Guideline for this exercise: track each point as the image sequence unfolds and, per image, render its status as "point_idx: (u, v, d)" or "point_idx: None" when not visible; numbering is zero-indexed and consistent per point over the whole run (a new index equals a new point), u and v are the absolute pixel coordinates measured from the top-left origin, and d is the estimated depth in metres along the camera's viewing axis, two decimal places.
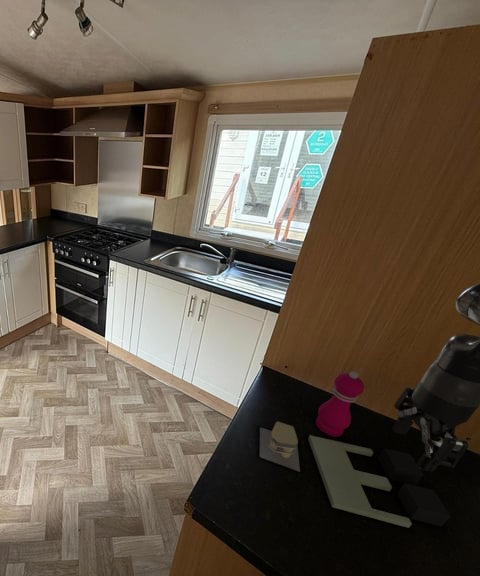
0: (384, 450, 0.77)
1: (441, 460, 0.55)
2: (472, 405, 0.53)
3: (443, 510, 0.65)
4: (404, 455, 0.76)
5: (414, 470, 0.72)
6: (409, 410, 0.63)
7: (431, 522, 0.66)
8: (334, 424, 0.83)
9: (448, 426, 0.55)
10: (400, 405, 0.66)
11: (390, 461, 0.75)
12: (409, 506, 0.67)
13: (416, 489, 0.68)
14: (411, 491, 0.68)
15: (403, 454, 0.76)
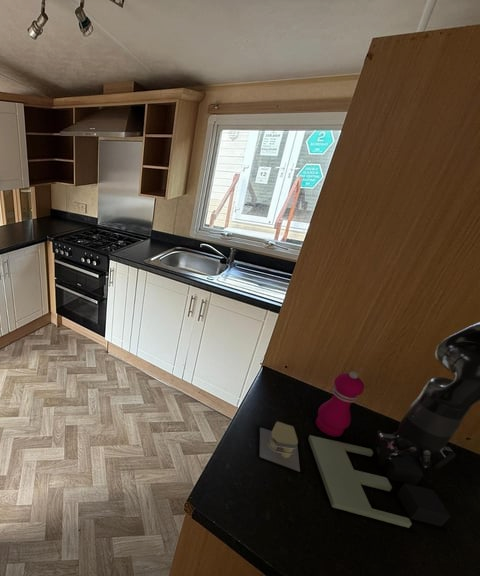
0: None
1: None
2: None
3: (443, 510, 0.65)
4: None
5: (414, 470, 0.72)
6: (404, 451, 0.71)
7: (431, 522, 0.66)
8: (334, 424, 0.83)
9: None
10: (385, 452, 0.74)
11: None
12: (409, 506, 0.67)
13: (416, 489, 0.68)
14: (411, 491, 0.68)
15: None
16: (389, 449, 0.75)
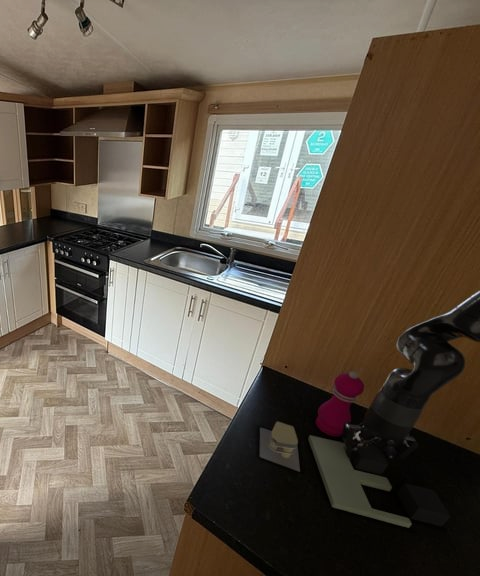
0: None
1: None
2: None
3: (443, 510, 0.65)
4: (371, 445, 0.77)
5: (379, 460, 0.73)
6: (369, 442, 0.72)
7: (431, 522, 0.66)
8: (334, 424, 0.83)
9: None
10: (351, 442, 0.75)
11: None
12: (409, 506, 0.67)
13: (416, 489, 0.68)
14: (411, 491, 0.68)
15: None
16: (355, 440, 0.76)
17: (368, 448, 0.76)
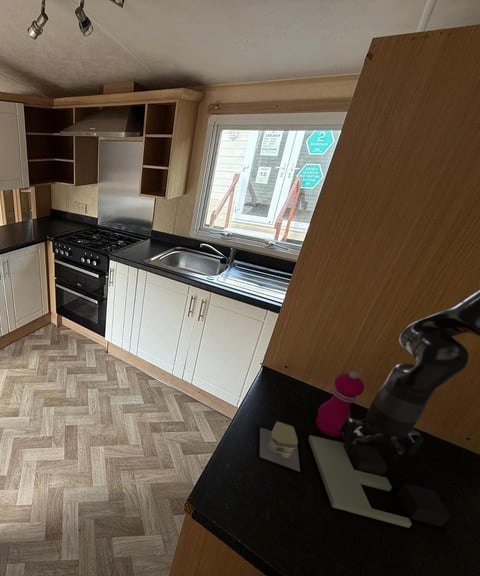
0: None
1: None
2: None
3: (443, 510, 0.65)
4: (371, 449, 0.77)
5: (379, 463, 0.73)
6: (370, 437, 0.72)
7: (431, 522, 0.66)
8: (334, 424, 0.83)
9: None
10: None
11: (356, 455, 0.76)
12: (409, 506, 0.67)
13: (416, 489, 0.68)
14: (411, 491, 0.68)
15: (369, 448, 0.77)
16: (354, 434, 0.75)
17: (368, 451, 0.76)
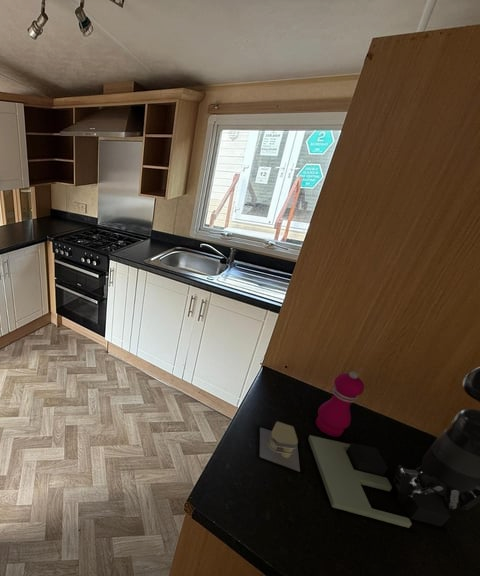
0: (351, 444, 0.78)
1: None
2: None
3: (443, 510, 0.65)
4: (371, 449, 0.77)
5: (379, 463, 0.73)
6: (428, 490, 0.64)
7: (431, 522, 0.66)
8: (334, 424, 0.83)
9: None
10: (406, 489, 0.66)
11: (356, 455, 0.76)
12: (409, 506, 0.67)
13: None
14: None
15: (369, 448, 0.77)
16: (410, 485, 0.67)
17: (368, 451, 0.76)
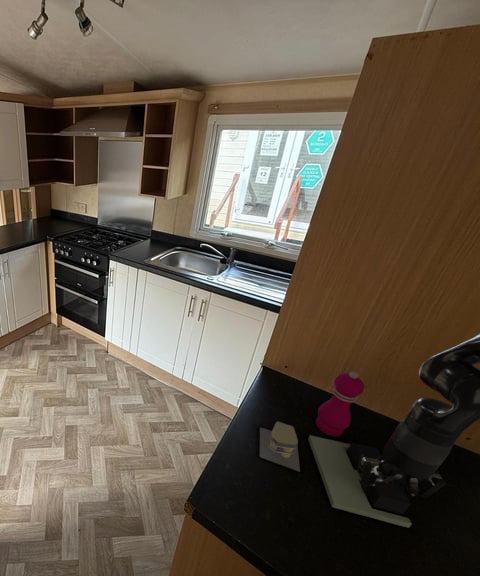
0: (351, 444, 0.78)
1: None
2: None
3: (404, 498, 0.66)
4: (371, 449, 0.77)
5: None
6: (389, 478, 0.65)
7: (392, 510, 0.67)
8: (334, 424, 0.83)
9: None
10: (368, 478, 0.67)
11: (356, 455, 0.76)
12: (372, 495, 0.68)
13: None
14: None
15: (369, 448, 0.77)
16: (373, 474, 0.68)
17: (368, 451, 0.76)
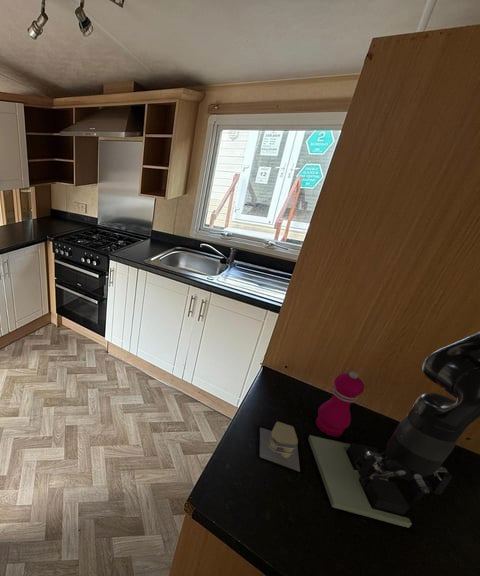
0: (351, 444, 0.78)
1: None
2: None
3: (402, 501, 0.66)
4: (371, 449, 0.77)
5: None
6: (390, 473, 0.64)
7: None
8: (334, 424, 0.83)
9: None
10: None
11: (356, 455, 0.76)
12: (371, 499, 0.69)
13: (378, 482, 0.70)
14: (373, 483, 0.69)
15: (369, 448, 0.77)
16: (371, 468, 0.68)
17: None
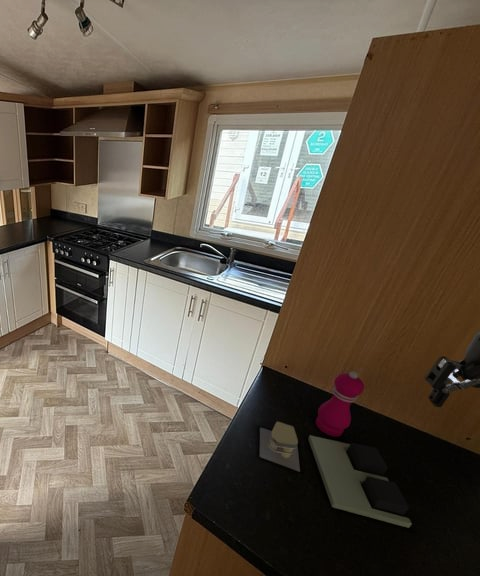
0: (351, 444, 0.78)
1: None
2: None
3: (402, 501, 0.66)
4: (371, 449, 0.77)
5: (379, 463, 0.73)
6: (472, 381, 0.56)
7: None
8: (334, 424, 0.83)
9: None
10: None
11: (356, 455, 0.76)
12: (371, 499, 0.69)
13: (378, 482, 0.70)
14: (373, 483, 0.69)
15: (369, 448, 0.77)
16: (446, 381, 0.60)
17: (368, 451, 0.76)
